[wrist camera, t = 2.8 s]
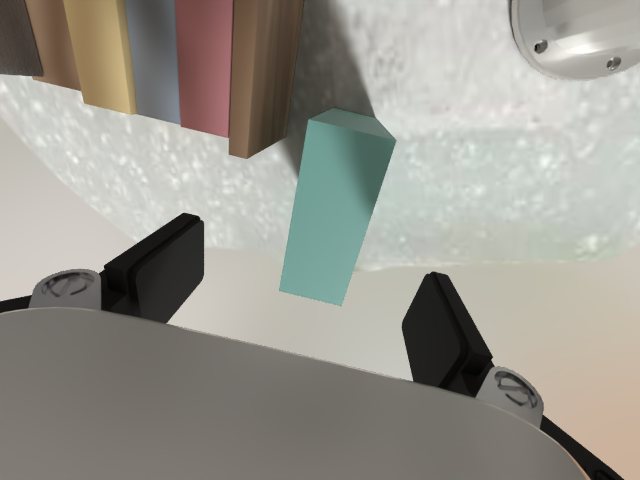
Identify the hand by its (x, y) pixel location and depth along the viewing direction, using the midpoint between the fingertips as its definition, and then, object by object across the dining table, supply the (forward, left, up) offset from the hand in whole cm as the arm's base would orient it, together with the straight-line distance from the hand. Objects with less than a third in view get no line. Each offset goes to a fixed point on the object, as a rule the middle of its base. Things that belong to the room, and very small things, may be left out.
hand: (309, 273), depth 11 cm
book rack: (+18, -7, -18) cm, 26 cm away
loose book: (0, 0, -18) cm, 18 cm away
